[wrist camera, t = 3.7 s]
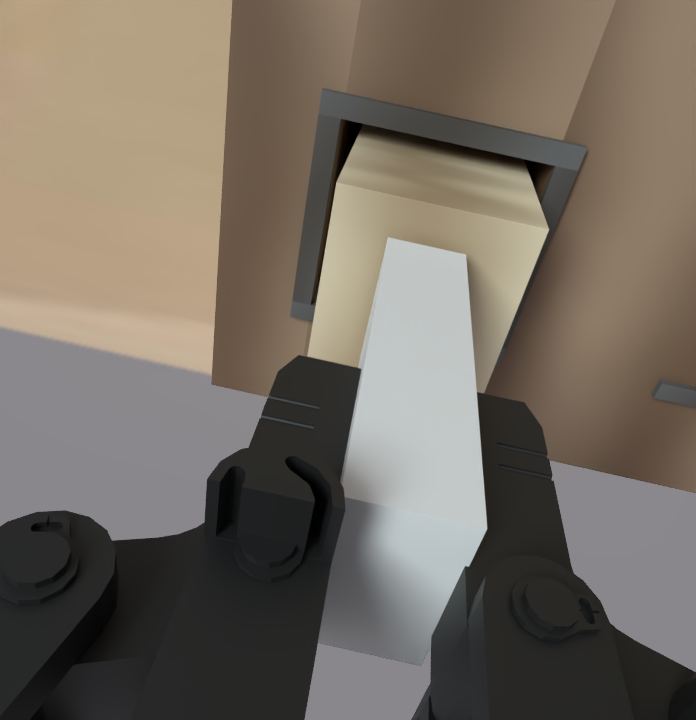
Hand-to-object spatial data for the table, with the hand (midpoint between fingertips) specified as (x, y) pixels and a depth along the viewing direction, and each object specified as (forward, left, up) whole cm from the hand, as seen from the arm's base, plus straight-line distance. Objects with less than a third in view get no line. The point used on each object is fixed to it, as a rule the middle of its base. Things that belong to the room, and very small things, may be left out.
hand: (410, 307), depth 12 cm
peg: (0, 0, -8) cm, 8 cm away
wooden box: (-5, 0, -12) cm, 13 cm away
